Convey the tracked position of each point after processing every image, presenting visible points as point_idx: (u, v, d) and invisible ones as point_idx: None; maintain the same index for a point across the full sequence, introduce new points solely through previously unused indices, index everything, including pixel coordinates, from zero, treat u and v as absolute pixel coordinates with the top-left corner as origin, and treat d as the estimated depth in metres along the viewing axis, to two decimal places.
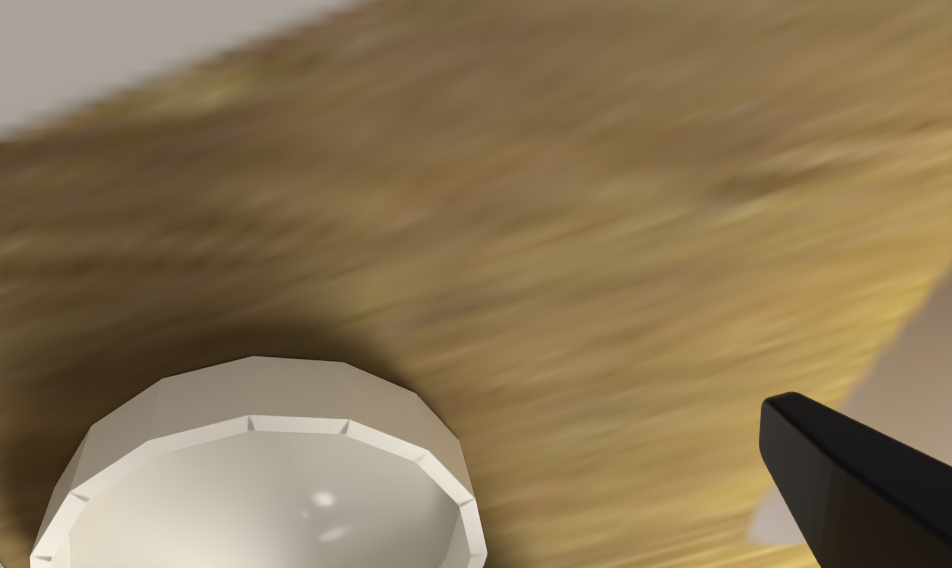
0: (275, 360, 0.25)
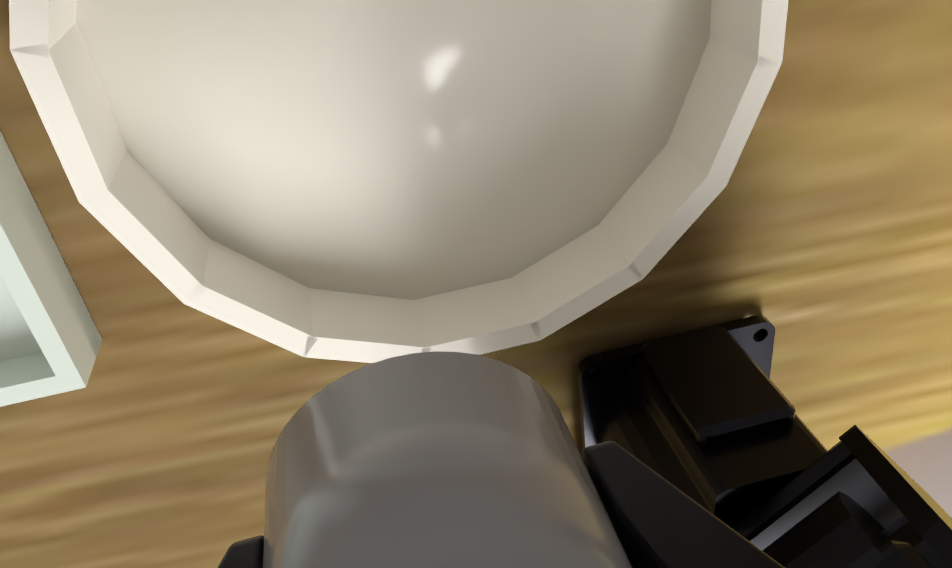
0: None
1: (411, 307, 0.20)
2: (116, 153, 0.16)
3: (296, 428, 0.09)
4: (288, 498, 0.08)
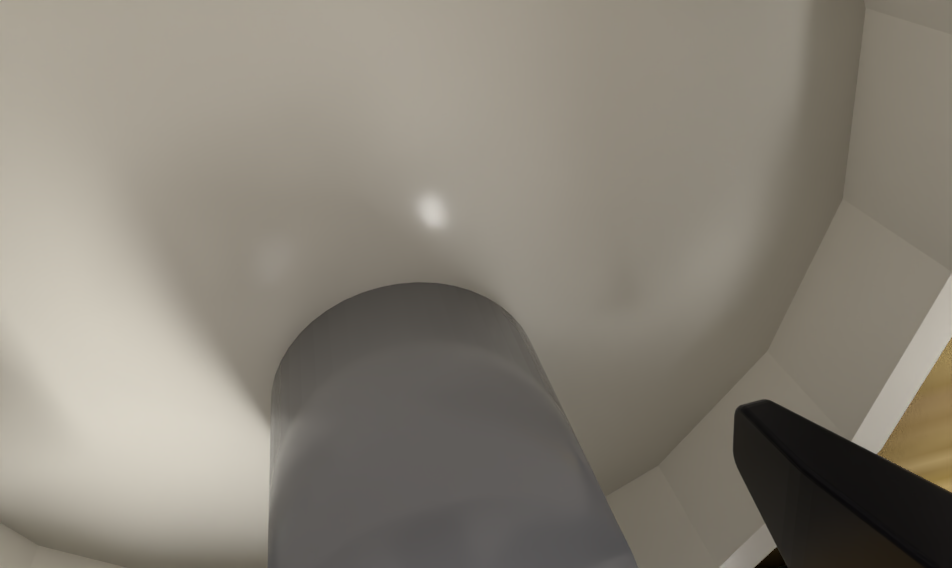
0: None
1: None
2: None
3: (298, 348, 0.10)
4: (292, 401, 0.09)
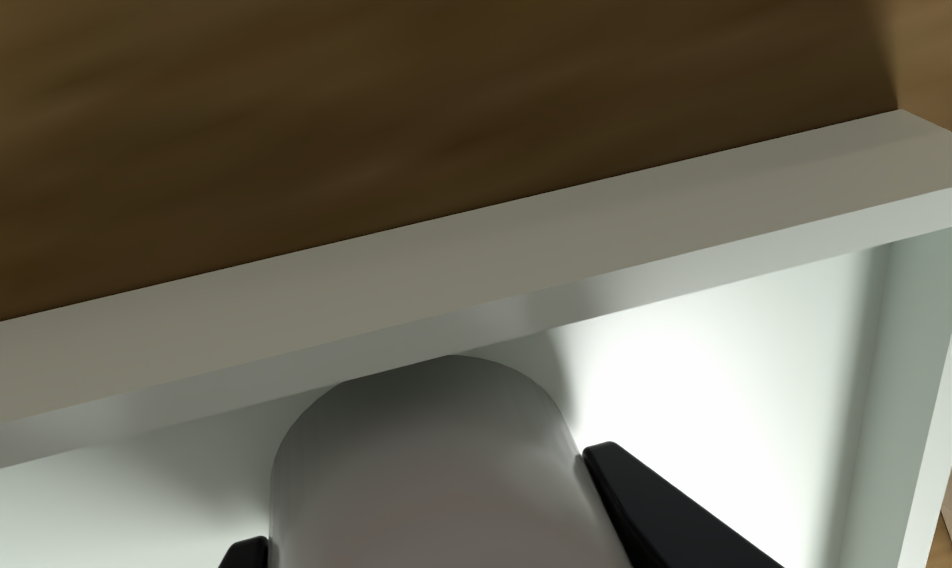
0: None
1: None
2: None
3: None
4: None
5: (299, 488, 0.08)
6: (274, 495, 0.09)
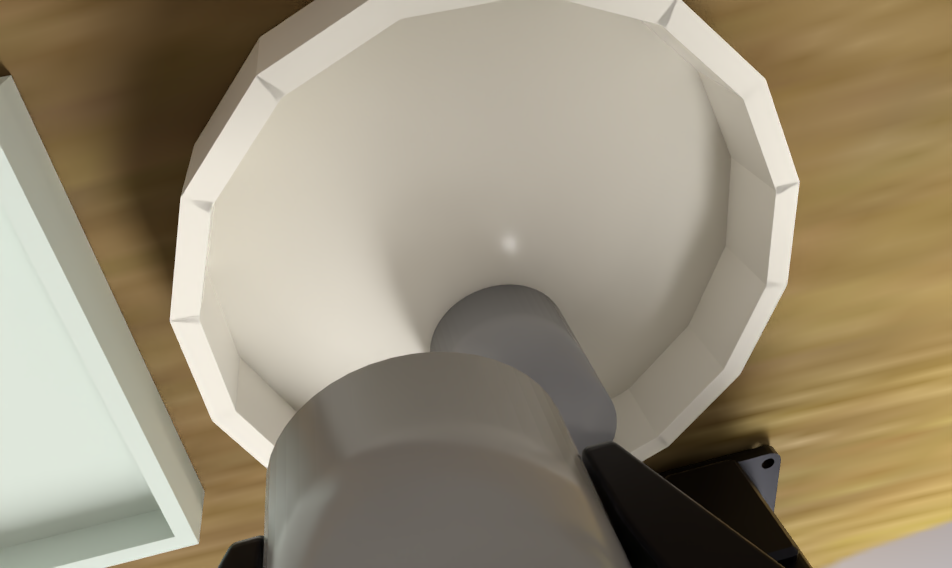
0: None
1: None
2: (236, 368, 0.19)
3: (451, 315, 0.20)
4: (453, 340, 0.20)
5: (295, 486, 0.08)
6: (270, 493, 0.09)
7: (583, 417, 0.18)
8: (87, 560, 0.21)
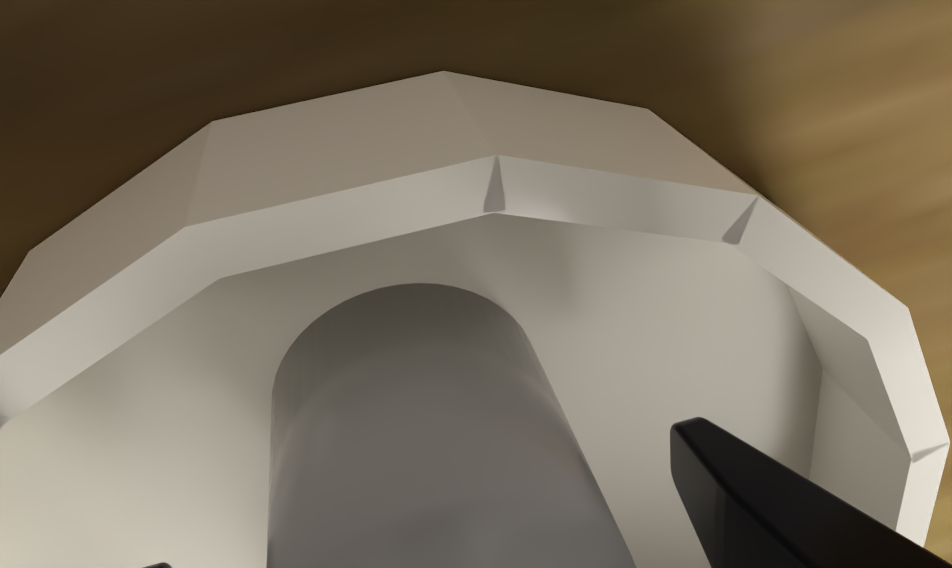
0: (499, 84, 0.10)
1: None
2: None
3: None
4: None
5: (296, 391, 0.09)
6: (275, 403, 0.10)
7: None
8: None
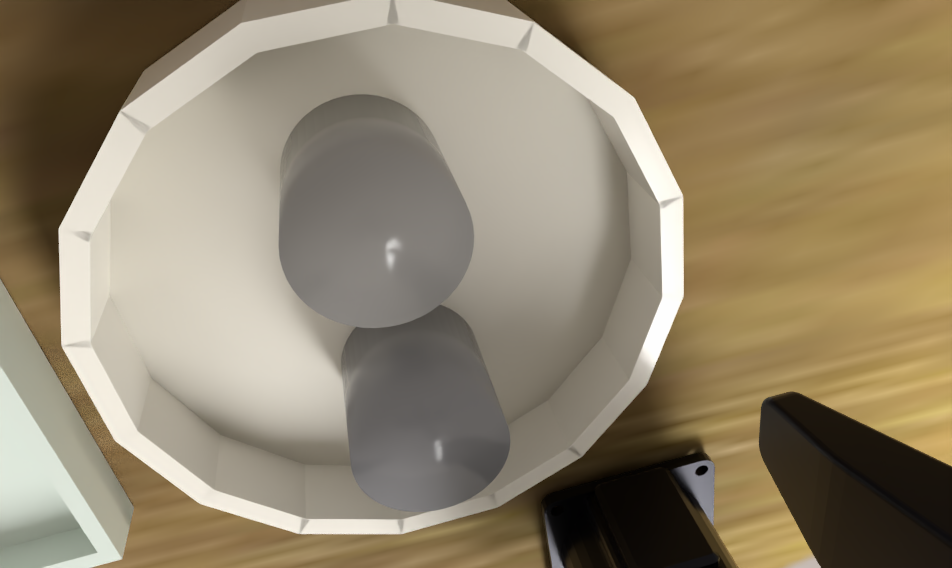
0: None
1: None
2: (143, 389, 0.20)
3: (357, 331, 0.21)
4: (356, 356, 0.20)
5: (295, 143, 0.17)
6: (283, 159, 0.18)
7: (475, 431, 0.19)
8: None
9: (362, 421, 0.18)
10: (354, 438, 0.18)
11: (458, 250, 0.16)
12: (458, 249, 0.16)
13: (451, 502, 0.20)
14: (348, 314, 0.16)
